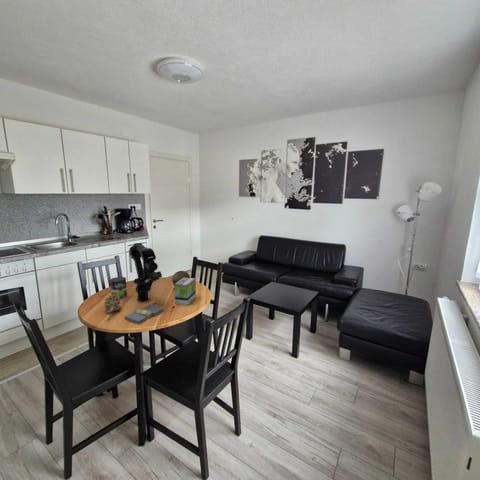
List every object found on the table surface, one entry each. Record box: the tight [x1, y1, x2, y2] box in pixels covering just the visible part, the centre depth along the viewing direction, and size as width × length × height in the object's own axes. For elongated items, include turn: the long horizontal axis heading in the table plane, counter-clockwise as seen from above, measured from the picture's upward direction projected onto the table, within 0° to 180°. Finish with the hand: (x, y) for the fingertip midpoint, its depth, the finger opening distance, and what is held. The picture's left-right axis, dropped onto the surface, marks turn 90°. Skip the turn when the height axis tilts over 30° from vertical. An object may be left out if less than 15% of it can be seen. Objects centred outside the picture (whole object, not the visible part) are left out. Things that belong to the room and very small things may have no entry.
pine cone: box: [104, 294, 122, 314], centre depth 160 cm, size 22×10×10 cm, turn 21°
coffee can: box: [109, 276, 128, 301], centre depth 183 cm, size 10×10×14 cm
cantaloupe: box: [171, 270, 191, 287], centre depth 200 cm, size 14×14×15 cm
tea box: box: [174, 277, 197, 306], centre depth 179 cm, size 15×10×15 cm
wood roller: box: [133, 307, 153, 319], centre depth 157 cm, size 4×11×4 cm, turn 67°
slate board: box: [124, 303, 165, 325], centre depth 158 cm, size 20×12×2 cm, turn 151°
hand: (149, 290), depth 169 cm, fingers closed
